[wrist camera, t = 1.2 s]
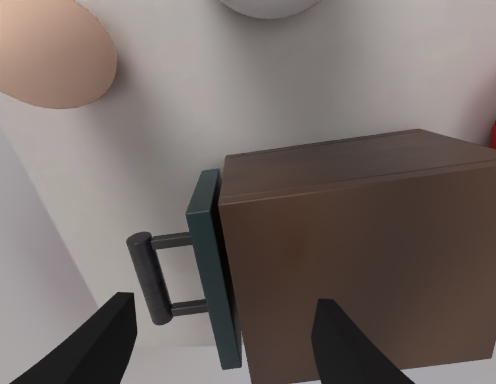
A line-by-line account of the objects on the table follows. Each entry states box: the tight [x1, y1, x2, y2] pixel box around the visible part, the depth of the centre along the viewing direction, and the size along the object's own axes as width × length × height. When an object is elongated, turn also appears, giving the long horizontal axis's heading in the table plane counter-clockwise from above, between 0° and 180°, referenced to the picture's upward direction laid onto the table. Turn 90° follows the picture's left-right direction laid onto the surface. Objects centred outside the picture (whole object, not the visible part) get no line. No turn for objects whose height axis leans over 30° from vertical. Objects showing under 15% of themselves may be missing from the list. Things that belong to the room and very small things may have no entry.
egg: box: [0, 0, 117, 109], centre depth 14 cm, size 5×5×8 cm
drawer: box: [126, 169, 242, 370], centre depth 18 cm, size 17×10×7 cm, turn 98°
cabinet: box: [218, 129, 496, 384], centre depth 18 cm, size 14×12×9 cm
